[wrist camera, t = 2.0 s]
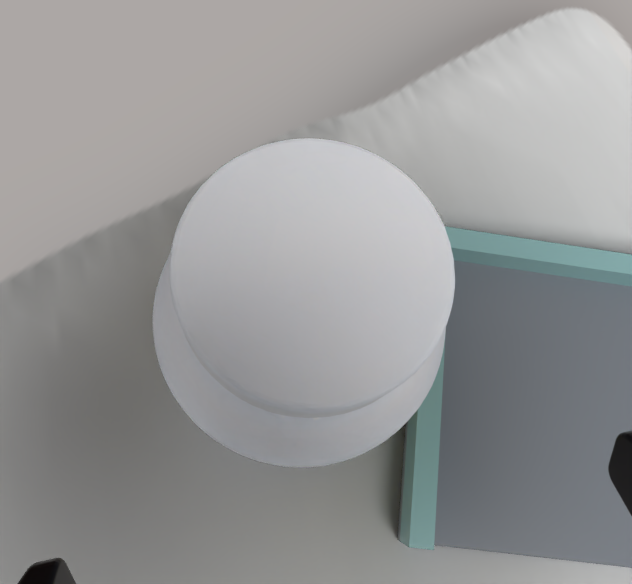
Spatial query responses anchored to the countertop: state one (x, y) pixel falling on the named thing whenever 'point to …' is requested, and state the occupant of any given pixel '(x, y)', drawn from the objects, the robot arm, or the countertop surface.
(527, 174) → the countertop surface
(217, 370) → the pill bottle
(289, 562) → the countertop surface
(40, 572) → the robot arm
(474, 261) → the dock
